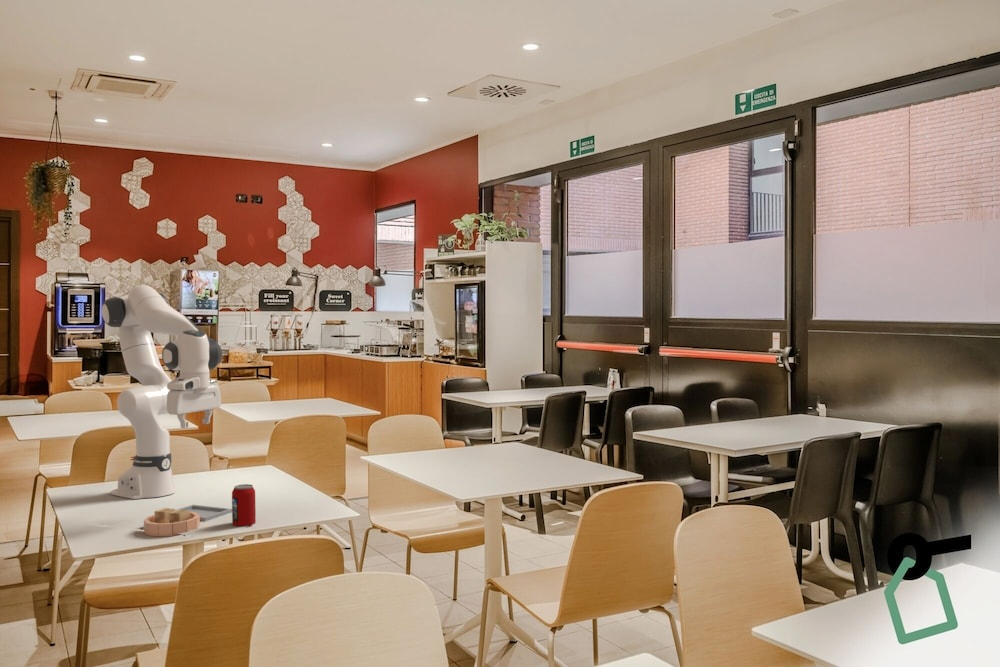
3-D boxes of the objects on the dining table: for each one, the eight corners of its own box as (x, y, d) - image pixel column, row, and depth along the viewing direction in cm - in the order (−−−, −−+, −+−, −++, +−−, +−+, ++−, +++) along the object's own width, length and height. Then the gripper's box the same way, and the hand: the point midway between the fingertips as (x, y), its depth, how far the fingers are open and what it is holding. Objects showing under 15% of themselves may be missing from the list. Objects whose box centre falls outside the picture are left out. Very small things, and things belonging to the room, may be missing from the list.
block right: (169, 529, 239) (169, 512, 239) (179, 526, 243) (179, 509, 243) (179, 530, 238) (179, 513, 237) (189, 527, 241) (189, 510, 241)
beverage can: (235, 522, 249) (234, 484, 248) (257, 522, 249) (257, 483, 249) (229, 528, 242) (229, 488, 242) (253, 528, 242) (252, 488, 242)
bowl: (133, 533, 237) (133, 521, 237) (171, 521, 251) (171, 509, 251) (172, 538, 232) (172, 526, 231) (209, 525, 245) (209, 513, 245)
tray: (165, 518, 255) (165, 513, 255) (193, 509, 266) (193, 504, 266) (205, 523, 249) (205, 517, 249) (232, 513, 260) (232, 508, 260)
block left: (154, 527, 241) (154, 511, 241) (165, 524, 245) (164, 508, 245) (165, 529, 240) (164, 512, 240) (175, 525, 243) (175, 509, 243)
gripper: (210, 379, 266) (210, 421, 266) (162, 384, 247) (163, 429, 247) (225, 379, 263) (226, 421, 264) (178, 385, 244) (179, 430, 245)
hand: (195, 425), depth 255 cm, fingers open, 8 cm apart
